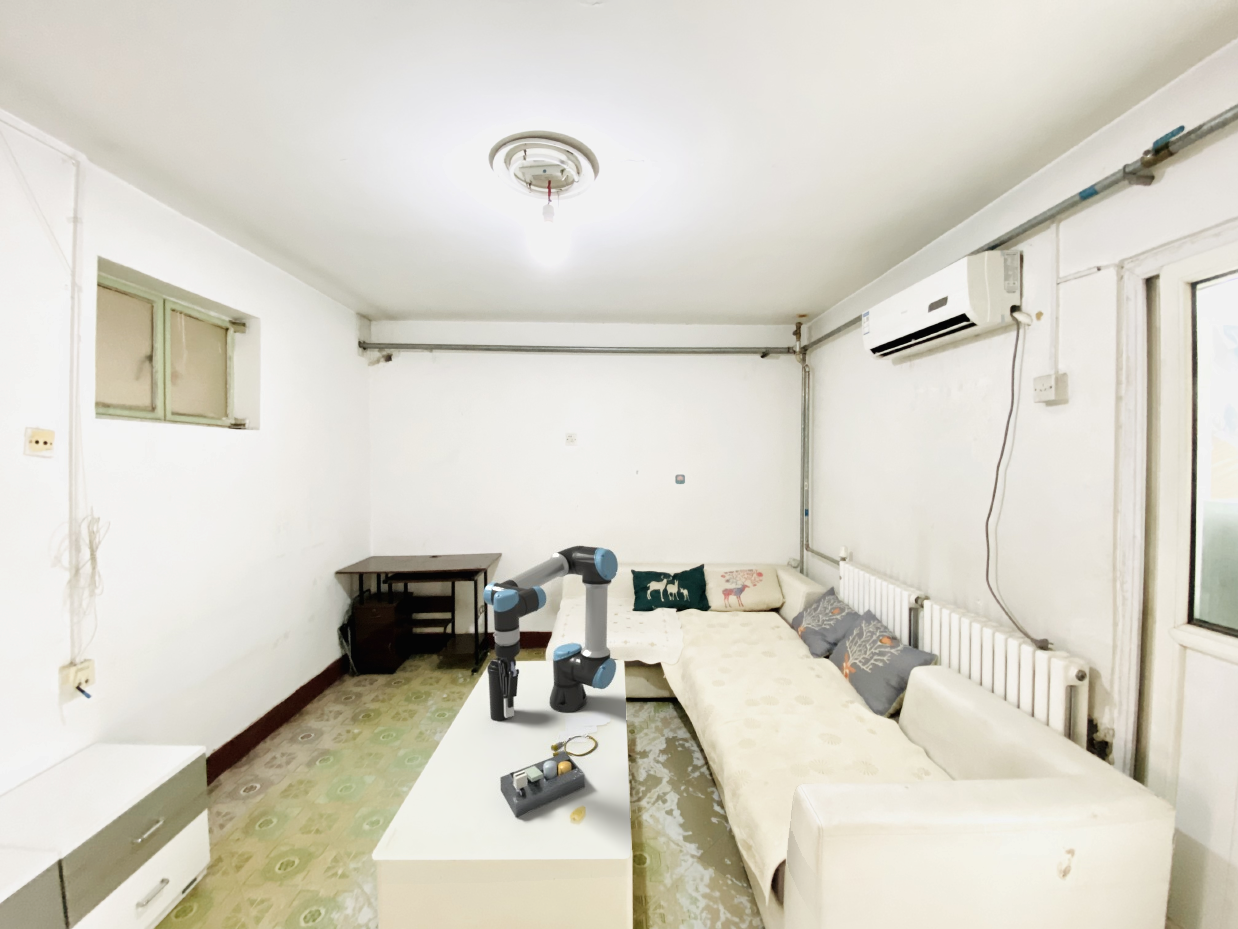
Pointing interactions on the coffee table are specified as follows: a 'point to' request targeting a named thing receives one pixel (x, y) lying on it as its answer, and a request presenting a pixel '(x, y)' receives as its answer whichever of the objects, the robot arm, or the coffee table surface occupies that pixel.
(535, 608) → the robot arm
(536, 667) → the coffee table surface
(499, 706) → the water bottle
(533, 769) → the panel
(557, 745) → the extension cord
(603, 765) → the coffee table surface
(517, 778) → the fader knob
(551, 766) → the blue-grey button
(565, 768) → the amber button
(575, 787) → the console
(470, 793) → the coffee table surface
